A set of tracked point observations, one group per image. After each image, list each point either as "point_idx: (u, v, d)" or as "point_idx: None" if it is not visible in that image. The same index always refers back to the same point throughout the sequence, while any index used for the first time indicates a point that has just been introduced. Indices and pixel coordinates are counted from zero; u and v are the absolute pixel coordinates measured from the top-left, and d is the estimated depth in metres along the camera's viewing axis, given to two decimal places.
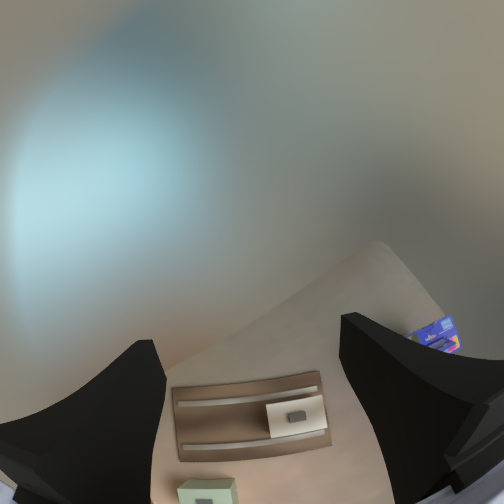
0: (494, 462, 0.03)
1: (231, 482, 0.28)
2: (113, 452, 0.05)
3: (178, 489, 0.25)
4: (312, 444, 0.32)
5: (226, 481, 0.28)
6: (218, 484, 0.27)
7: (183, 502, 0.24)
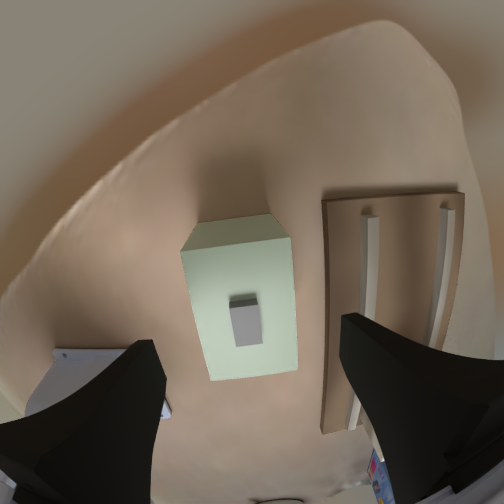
0: (494, 462, 0.03)
1: None
2: (113, 452, 0.05)
3: (287, 241, 0.11)
4: (333, 416, 0.22)
5: None
6: None
7: (235, 256, 0.11)
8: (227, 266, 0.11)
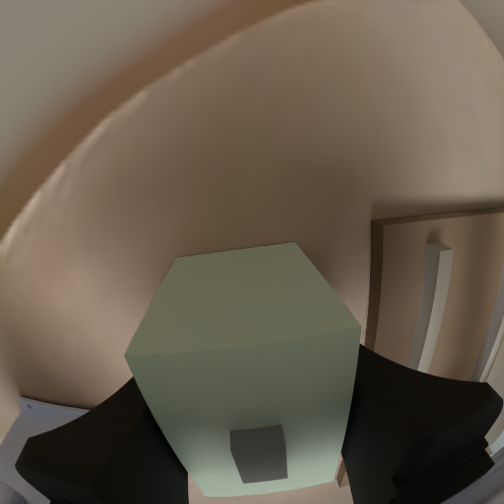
0: (452, 491, 0.03)
1: None
2: (158, 457, 0.05)
3: (353, 334, 0.05)
4: None
5: None
6: None
7: (242, 368, 0.05)
8: (224, 384, 0.05)
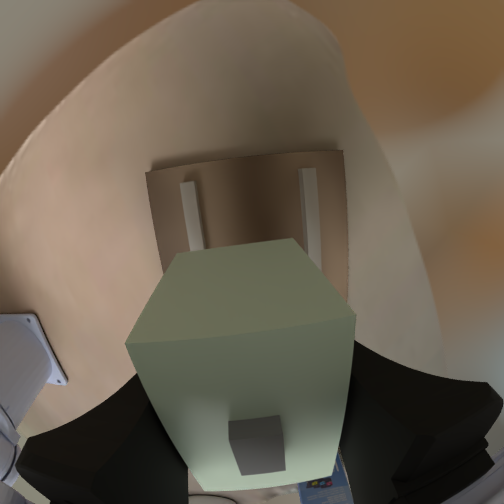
0: (452, 492, 0.03)
1: None
2: (158, 457, 0.05)
3: (348, 323, 0.05)
4: None
5: None
6: None
7: (240, 356, 0.05)
8: (222, 373, 0.05)
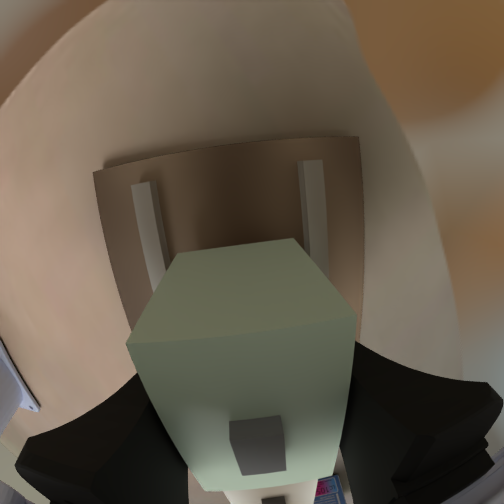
0: (452, 492, 0.03)
1: None
2: (158, 457, 0.05)
3: (349, 323, 0.05)
4: None
5: None
6: None
7: (241, 356, 0.05)
8: (223, 372, 0.05)
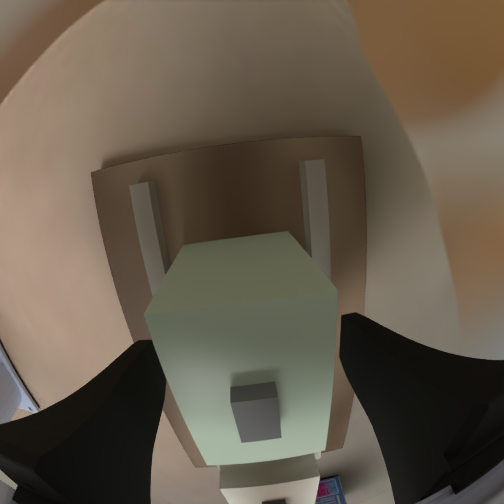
0: (494, 462, 0.03)
1: None
2: (113, 452, 0.05)
3: (331, 296, 0.06)
4: (197, 450, 0.16)
5: None
6: None
7: (240, 323, 0.06)
8: (225, 339, 0.06)
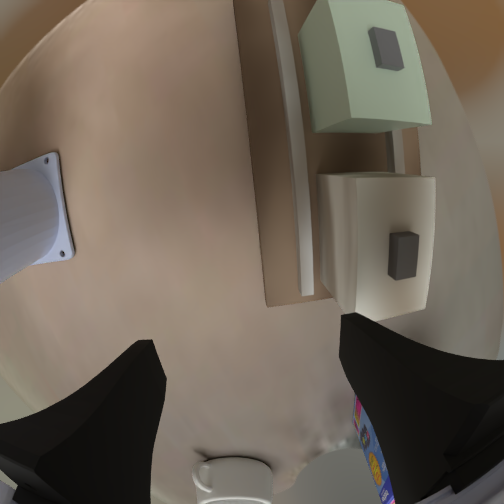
0: (494, 462, 0.03)
1: None
2: (113, 452, 0.05)
3: (402, 7, 0.08)
4: (277, 266, 0.18)
5: None
6: None
7: (368, 2, 0.08)
8: (363, 6, 0.08)
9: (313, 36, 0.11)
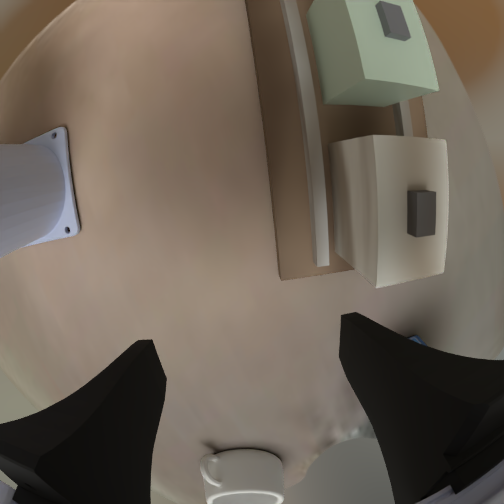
0: (494, 463, 0.03)
1: None
2: (113, 452, 0.05)
3: None
4: (292, 236, 0.18)
5: None
6: None
7: None
8: None
9: (322, 13, 0.11)
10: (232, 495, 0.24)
